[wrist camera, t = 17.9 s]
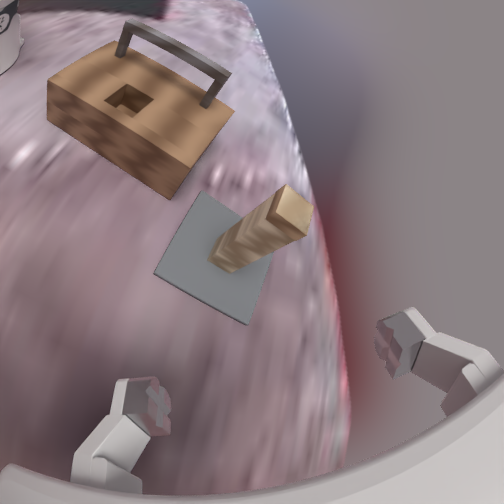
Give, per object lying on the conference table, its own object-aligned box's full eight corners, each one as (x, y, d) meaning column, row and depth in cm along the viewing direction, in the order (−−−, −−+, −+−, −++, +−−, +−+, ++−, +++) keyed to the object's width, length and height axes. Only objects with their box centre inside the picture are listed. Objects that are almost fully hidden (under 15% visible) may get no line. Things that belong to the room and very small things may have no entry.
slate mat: (153, 273, 32) (154, 272, 31) (200, 192, 39) (201, 190, 38) (246, 325, 36) (248, 325, 36) (274, 243, 43) (277, 242, 43)
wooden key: (206, 260, 35) (275, 212, 24) (217, 237, 37) (286, 184, 25) (229, 274, 37) (306, 235, 25) (239, 252, 39) (314, 206, 27)
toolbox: (47, 119, 28) (51, 40, 16) (104, 76, 35) (126, 8, 24) (169, 200, 36) (215, 133, 24) (211, 142, 43) (258, 82, 31)
